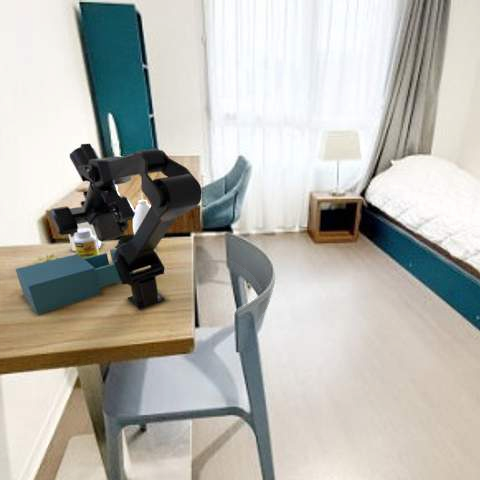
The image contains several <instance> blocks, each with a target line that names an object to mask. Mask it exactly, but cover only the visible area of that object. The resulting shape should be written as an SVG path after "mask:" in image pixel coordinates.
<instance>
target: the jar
mask: <svg viewBox="0 0 480 480" xmlns="http://www.w3.org/2000/svg"><path fill="white" fill-rule="evenodd" d="M69 209H70V211H71V212H72V214H77V213H82V212H83V208H82V206H78V207H72V208H69ZM83 220H84V219H83ZM77 225H78V229H81V228H90V229H91V232H92V235H94V236H95V237H96V240H97V245H98V250H99V249H101V246H102V241H99V240H98V238H97V235H96V232H95V230H94V227H93V225H89V223H88V222H86V223H81V224H77ZM75 237H76V234H75V233H74V236H73V237H71V236H70V234H68V240H69V242H70V243H69V244H70V248H71V251H73V252H76V248H75V244H74V238H75Z"/></svg>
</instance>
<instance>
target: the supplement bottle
mask: <svg viewBox="0 0 480 480" xmlns="http://www.w3.org/2000/svg"><path fill="white" fill-rule="evenodd" d="M77 231H78V232H77V233H75V234H76V237H75V238H74V244H75V248H76V251H75V252H76V254H78V255H80V256H81V257H82V258H83V259H84V258H87V257H91V256H95V255H99V254H100V250H99V249H98V245H97V240H96V237H95V236H94V235H92V232H91V229H90V228H81V229H78V230H77Z"/></svg>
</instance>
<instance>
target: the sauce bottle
mask: <svg viewBox="0 0 480 480" xmlns="http://www.w3.org/2000/svg"><path fill="white" fill-rule="evenodd" d="M137 203H138V204H136V206H135V209H134V211H135V215H134V218H133V219H132V232H133V235H135V233H136V232H137V230H138V228H139V226H140V225H141V223H142V221H143V219H144V218H145V216H146V214H147V212H148V211H149V209H150V207H151V204H149V202H148V200H147V199H144V195H143V192H142V191H140V199H139V200H137Z"/></svg>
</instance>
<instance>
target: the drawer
mask: <svg viewBox="0 0 480 480" xmlns="http://www.w3.org/2000/svg"><path fill="white" fill-rule="evenodd" d="M115 251H116V248H113V249H110V250H109V252H110V259H111V263H110V262H109V255H108V253H107V252H104V253H99V255H95V256H91V257H87V258H84V260H86V261H87V262H88V263H89V264H91V265H92V266H93V267H94V268H95V271H96V276H97V280H98V285H99V289H100V288H103V287H106V286H109V285H112V284H116V283H119V282H121V279H120V277H119V275H118V272H117V269H116V266H115V264H114V255H115ZM131 273H134V271H132V272H130V274H131Z"/></svg>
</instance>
